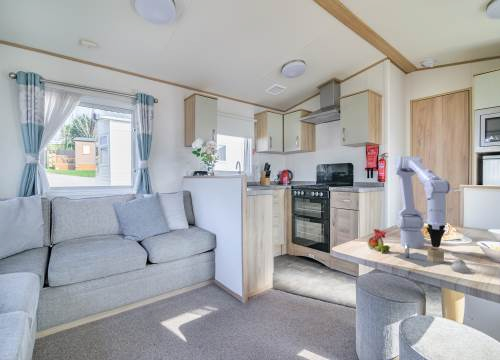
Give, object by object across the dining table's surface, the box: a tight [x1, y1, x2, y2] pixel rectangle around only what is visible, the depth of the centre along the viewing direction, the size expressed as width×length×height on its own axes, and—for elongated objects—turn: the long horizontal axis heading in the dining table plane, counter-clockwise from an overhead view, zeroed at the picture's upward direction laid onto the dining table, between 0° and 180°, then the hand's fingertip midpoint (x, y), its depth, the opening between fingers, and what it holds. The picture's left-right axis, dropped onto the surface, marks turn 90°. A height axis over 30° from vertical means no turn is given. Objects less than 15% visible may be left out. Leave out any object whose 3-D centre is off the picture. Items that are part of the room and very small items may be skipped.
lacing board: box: [393, 252, 450, 268], centre depth 97 cm, size 14×13×1 cm
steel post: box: [404, 244, 410, 258], centre depth 98 cm, size 2×2×6 cm
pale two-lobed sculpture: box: [450, 258, 471, 274], centre depth 86 cm, size 4×8×5 cm
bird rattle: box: [367, 228, 391, 254], centre depth 109 cm, size 6×11×9 cm
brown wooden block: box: [427, 247, 445, 263], centre depth 95 cm, size 5×5×4 cm
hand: (435, 244), depth 94 cm, fingers open, 7 cm apart
